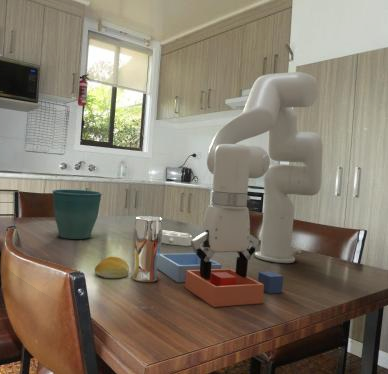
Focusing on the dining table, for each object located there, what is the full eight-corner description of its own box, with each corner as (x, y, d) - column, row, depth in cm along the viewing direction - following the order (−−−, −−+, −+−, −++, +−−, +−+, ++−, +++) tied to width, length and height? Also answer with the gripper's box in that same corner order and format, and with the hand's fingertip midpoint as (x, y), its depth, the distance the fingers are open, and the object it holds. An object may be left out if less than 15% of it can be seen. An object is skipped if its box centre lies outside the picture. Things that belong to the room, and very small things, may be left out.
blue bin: (196, 267, 105) (197, 253, 105) (220, 280, 94) (221, 264, 94) (157, 268, 101) (158, 253, 101) (177, 282, 90) (178, 265, 89)
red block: (224, 289, 85) (226, 272, 85) (235, 295, 81) (236, 277, 81) (209, 290, 84) (211, 272, 83) (219, 296, 80) (221, 277, 80)
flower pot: (75, 244, 125) (79, 194, 125) (39, 235, 135) (41, 189, 134) (108, 237, 141) (111, 193, 140) (73, 230, 150) (76, 189, 150)
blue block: (270, 287, 91) (271, 271, 91) (282, 292, 87) (283, 276, 87) (257, 288, 90) (258, 271, 90) (268, 293, 86) (269, 276, 86)
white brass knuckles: (197, 241, 145) (186, 248, 132) (155, 235, 152) (140, 240, 139) (198, 233, 145) (187, 238, 132) (155, 227, 152) (141, 231, 139)
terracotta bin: (229, 285, 90) (230, 268, 90) (262, 303, 79) (264, 284, 79) (184, 287, 86) (186, 270, 86) (213, 307, 75) (215, 287, 75)
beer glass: (150, 285, 86) (154, 221, 85) (125, 278, 90) (129, 217, 89) (164, 278, 92) (168, 218, 91) (140, 272, 96) (144, 215, 95)
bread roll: (91, 277, 89) (92, 260, 89) (101, 267, 98) (102, 253, 98) (124, 281, 88) (125, 264, 88) (131, 271, 97) (132, 256, 96)
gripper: (250, 199, 88) (245, 270, 89) (186, 197, 82) (181, 273, 83) (272, 203, 81) (266, 280, 82) (203, 201, 75) (197, 284, 76)
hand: (223, 276), depth 83 cm, fingers open, 8 cm apart
